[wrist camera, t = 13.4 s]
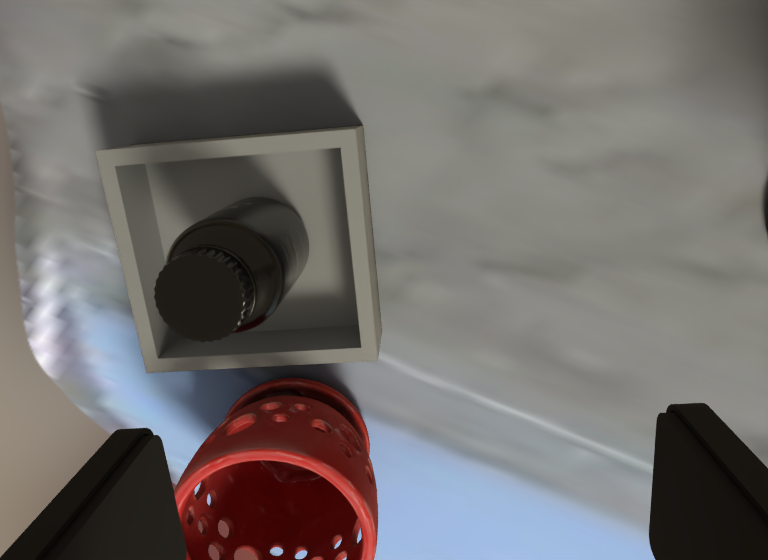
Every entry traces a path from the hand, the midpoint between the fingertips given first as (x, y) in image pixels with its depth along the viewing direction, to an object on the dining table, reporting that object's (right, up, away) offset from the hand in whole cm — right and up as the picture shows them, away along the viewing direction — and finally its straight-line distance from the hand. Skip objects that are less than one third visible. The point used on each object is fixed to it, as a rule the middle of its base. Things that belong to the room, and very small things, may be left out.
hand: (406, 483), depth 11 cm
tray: (-9, +7, +30) cm, 32 cm away
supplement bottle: (-9, +6, +29) cm, 31 cm away
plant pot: (-7, -9, +35) cm, 37 cm away
